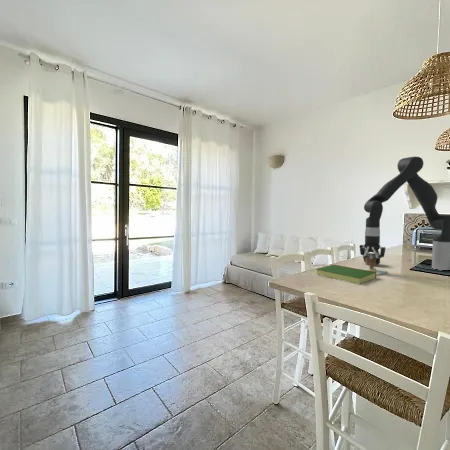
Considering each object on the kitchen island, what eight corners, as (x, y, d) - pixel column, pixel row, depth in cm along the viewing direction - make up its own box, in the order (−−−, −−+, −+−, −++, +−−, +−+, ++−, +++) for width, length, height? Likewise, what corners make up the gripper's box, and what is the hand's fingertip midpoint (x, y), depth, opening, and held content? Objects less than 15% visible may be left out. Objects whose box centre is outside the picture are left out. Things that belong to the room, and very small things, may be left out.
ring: (369, 263, 151) (369, 256, 151) (379, 265, 146) (379, 258, 146) (363, 264, 148) (363, 257, 148) (374, 266, 143) (374, 259, 143)
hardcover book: (376, 279, 135) (376, 272, 135) (359, 285, 124) (359, 277, 123) (332, 270, 155) (332, 264, 155) (314, 275, 144) (314, 268, 143)
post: (366, 268, 156) (366, 251, 155) (387, 272, 146) (387, 254, 145) (355, 271, 149) (356, 253, 148) (377, 275, 139) (377, 256, 138)
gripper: (388, 235, 142) (388, 264, 143) (363, 233, 154) (362, 260, 155) (382, 236, 138) (381, 266, 139) (356, 234, 150) (356, 262, 151)
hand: (371, 263), depth 147 cm, fingers closed on ring, 5 cm apart
